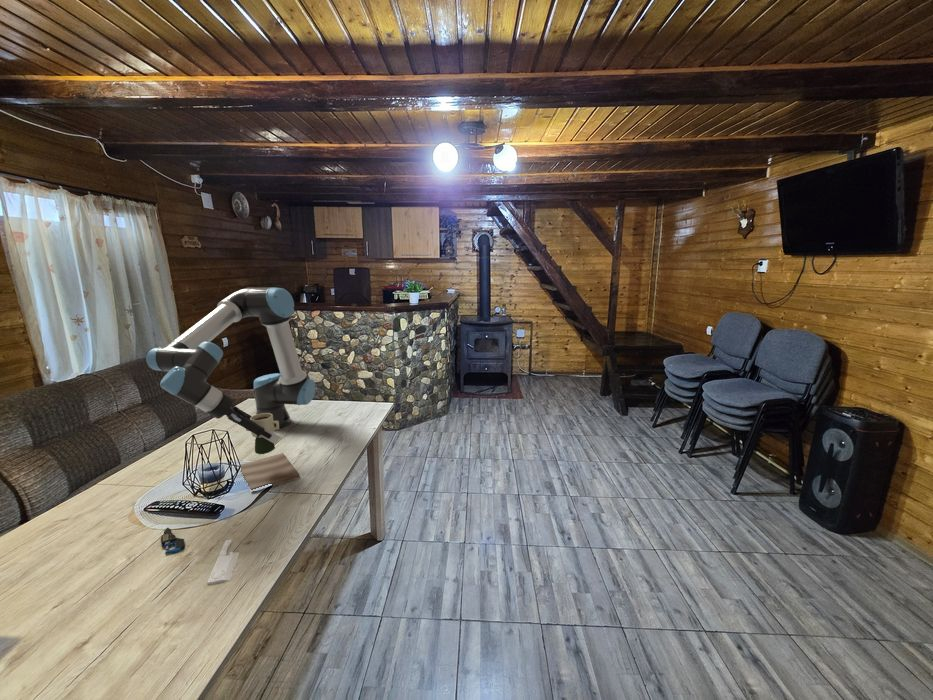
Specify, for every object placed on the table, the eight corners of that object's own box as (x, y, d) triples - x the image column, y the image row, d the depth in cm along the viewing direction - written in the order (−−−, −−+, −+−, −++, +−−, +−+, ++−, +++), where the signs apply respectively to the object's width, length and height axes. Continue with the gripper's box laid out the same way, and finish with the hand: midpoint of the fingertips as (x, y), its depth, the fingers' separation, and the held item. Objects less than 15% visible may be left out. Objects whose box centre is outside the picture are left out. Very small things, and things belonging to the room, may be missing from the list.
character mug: (284, 446, 143) (281, 412, 140) (278, 455, 136) (274, 419, 133) (252, 448, 141) (248, 413, 138) (244, 457, 134) (239, 421, 132)
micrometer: (183, 545, 103) (159, 553, 100) (185, 551, 103) (160, 559, 100) (183, 520, 112) (161, 527, 109) (184, 526, 112) (162, 533, 110)
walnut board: (239, 468, 144) (238, 465, 143) (283, 456, 153) (283, 452, 152) (251, 493, 128) (250, 488, 128) (299, 477, 137) (299, 473, 137)
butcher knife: (246, 540, 107) (246, 536, 107) (231, 581, 93) (231, 577, 93) (225, 543, 106) (225, 539, 105) (206, 586, 92) (206, 582, 91)
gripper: (202, 404, 133) (260, 436, 146) (210, 421, 118) (274, 456, 131) (218, 386, 135) (274, 419, 148) (228, 401, 120) (290, 437, 133)
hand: (274, 436), depth 140 cm, fingers closed on character mug, 7 cm apart
